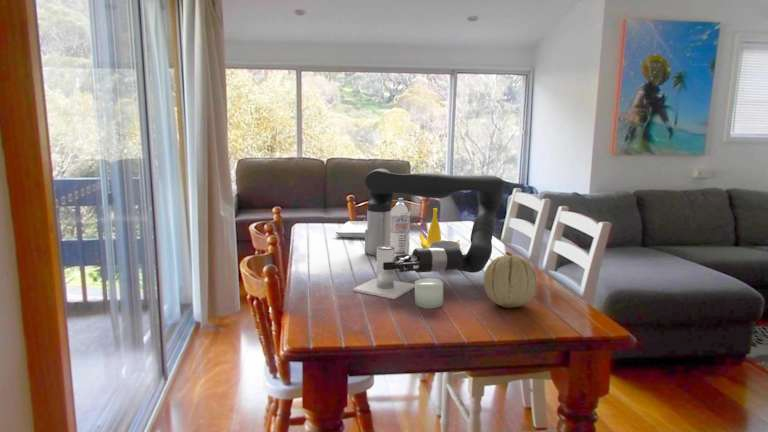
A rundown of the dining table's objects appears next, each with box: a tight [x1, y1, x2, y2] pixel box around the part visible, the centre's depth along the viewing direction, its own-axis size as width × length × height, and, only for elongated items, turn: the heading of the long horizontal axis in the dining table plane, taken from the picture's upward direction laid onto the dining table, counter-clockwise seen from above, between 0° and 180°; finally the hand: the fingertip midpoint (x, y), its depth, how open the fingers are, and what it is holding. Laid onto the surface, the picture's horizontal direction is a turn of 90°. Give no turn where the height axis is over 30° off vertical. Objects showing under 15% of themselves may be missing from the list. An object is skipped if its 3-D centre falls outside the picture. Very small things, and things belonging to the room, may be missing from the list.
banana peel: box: [419, 207, 460, 248], centre depth 213 cm, size 17×19×17 cm
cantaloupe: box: [483, 251, 538, 309], centre depth 143 cm, size 15×15×15 cm
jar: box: [414, 277, 444, 309], centre depth 144 cm, size 8×8×6 cm
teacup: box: [430, 239, 461, 250], centre depth 188 cm, size 14×11×8 cm
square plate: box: [335, 220, 367, 239], centre depth 239 cm, size 27×27×4 cm
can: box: [375, 246, 396, 289], centre depth 156 cm, size 6×6×12 cm
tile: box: [353, 277, 415, 300], centre depth 157 cm, size 14×14×1 cm
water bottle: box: [390, 197, 411, 272], centre depth 178 cm, size 7×7×25 cm
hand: (379, 262), depth 155 cm, fingers open, 8 cm apart
